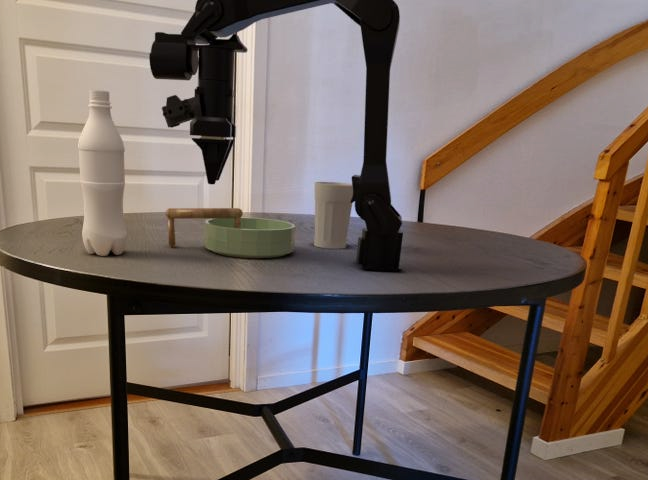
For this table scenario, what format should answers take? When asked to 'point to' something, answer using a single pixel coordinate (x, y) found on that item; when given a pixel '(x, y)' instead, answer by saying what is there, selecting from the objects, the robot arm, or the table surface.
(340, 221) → the cup
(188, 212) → the wooden dowel frame
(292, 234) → the bowl
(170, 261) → the table surface
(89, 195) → the water bottle
